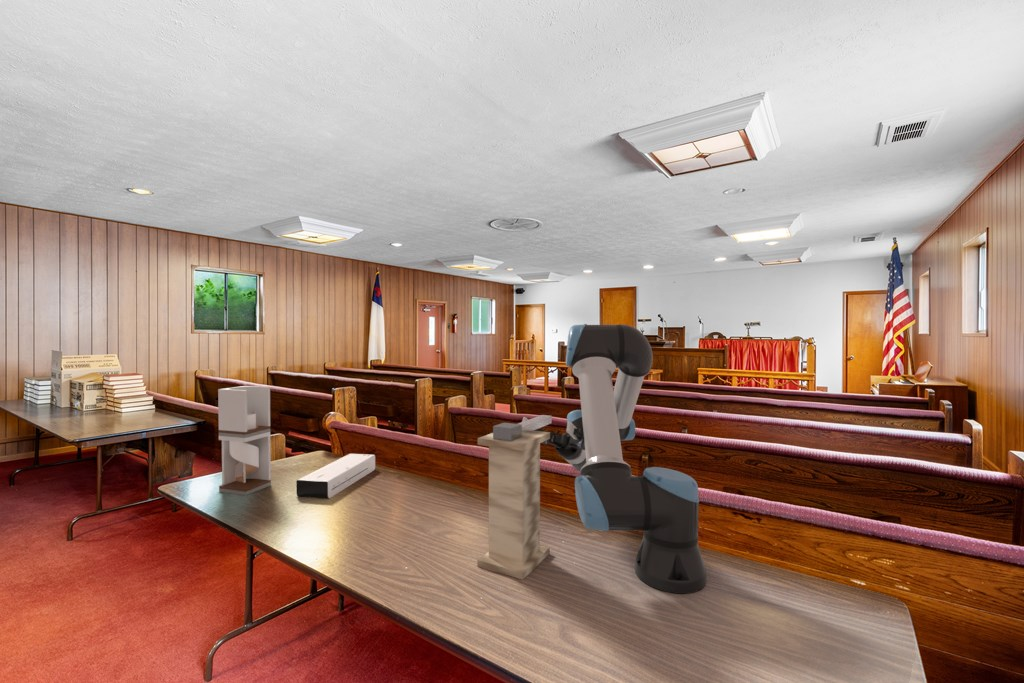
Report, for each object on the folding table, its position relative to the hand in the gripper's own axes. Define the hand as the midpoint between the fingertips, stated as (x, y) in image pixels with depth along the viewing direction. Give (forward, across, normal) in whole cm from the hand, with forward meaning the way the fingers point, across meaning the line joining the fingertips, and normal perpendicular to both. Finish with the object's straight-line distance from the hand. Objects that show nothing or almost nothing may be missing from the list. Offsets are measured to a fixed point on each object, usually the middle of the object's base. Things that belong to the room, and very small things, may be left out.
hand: (545, 423), depth 127 cm
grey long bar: (+10, 0, -6) cm, 12 cm away
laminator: (-16, +84, -26) cm, 89 cm away
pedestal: (0, 0, -35) cm, 35 cm away
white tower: (+2, +106, -36) cm, 112 cm away
